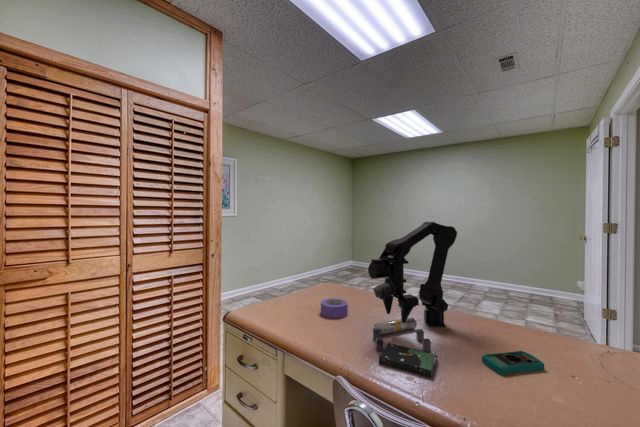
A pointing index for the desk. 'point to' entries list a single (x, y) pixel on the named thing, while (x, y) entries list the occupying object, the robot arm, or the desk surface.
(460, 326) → the desk surface
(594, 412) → the desk surface
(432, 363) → the disk drive
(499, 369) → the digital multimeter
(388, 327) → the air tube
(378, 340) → the collar stand
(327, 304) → the tape roll
